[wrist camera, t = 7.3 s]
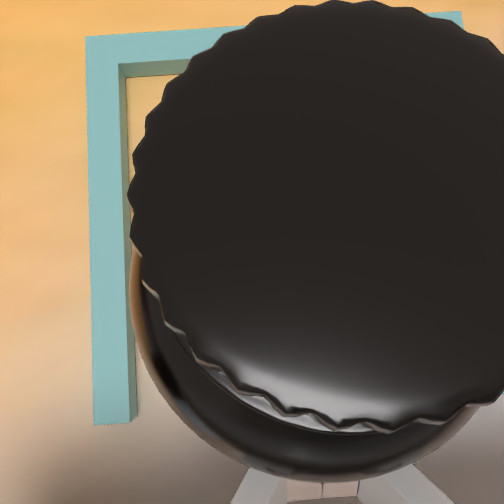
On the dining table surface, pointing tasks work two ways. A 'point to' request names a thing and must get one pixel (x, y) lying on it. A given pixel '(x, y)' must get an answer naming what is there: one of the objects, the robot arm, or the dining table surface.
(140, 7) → the dining table surface
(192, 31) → the teal frame
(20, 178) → the dining table surface
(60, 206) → the dining table surface
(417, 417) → the supplement bottle
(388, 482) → the robot arm
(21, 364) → the dining table surface
